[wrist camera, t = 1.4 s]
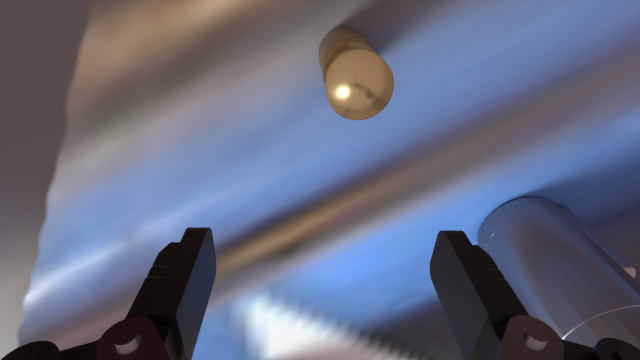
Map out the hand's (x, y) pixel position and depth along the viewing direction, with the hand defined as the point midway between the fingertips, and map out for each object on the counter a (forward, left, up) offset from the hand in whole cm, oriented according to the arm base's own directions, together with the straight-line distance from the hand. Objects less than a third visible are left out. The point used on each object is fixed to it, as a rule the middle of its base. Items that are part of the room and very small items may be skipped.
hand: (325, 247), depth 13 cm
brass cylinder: (-3, -3, -21) cm, 21 cm away
